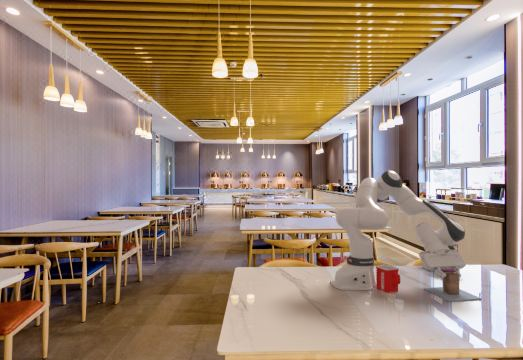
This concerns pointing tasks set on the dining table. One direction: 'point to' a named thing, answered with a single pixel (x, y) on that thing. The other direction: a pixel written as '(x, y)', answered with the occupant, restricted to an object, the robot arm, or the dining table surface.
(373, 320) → the dining table surface
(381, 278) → the mug
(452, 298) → the rubber mat
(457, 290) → the walnut block
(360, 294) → the dining table surface
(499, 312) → the dining table surface
